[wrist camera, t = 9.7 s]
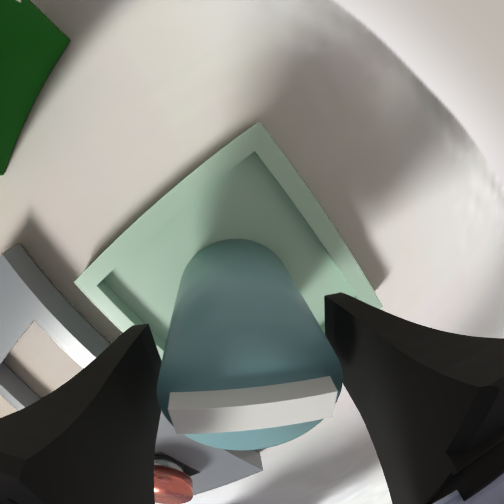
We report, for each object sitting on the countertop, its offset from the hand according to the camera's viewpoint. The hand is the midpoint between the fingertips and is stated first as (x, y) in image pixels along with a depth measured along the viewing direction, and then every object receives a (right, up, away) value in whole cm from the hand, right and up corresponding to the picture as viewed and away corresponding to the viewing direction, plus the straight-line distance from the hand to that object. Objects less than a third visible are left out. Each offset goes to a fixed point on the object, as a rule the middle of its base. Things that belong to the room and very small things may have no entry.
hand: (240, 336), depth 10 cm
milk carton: (-13, +11, -1) cm, 17 cm away
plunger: (-6, -11, +7) cm, 14 cm away
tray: (0, +1, +4) cm, 4 cm away
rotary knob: (0, +1, +3) cm, 3 cm away
